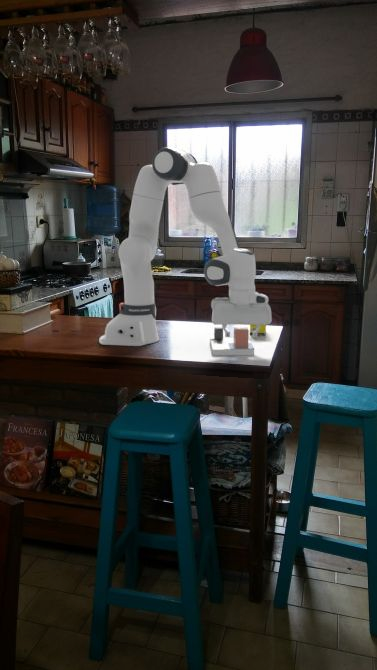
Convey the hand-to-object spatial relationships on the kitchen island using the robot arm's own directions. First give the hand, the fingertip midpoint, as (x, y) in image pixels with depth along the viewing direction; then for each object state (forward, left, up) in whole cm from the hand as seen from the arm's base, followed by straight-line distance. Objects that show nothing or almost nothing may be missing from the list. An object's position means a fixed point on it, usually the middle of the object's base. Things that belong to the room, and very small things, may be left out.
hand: (241, 336), depth 185 cm
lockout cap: (0, 0, -3) cm, 3 cm away
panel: (-3, +4, -5) cm, 8 cm away
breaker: (-7, +11, -3) cm, 13 cm away
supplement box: (+10, +28, -6) cm, 31 cm away
